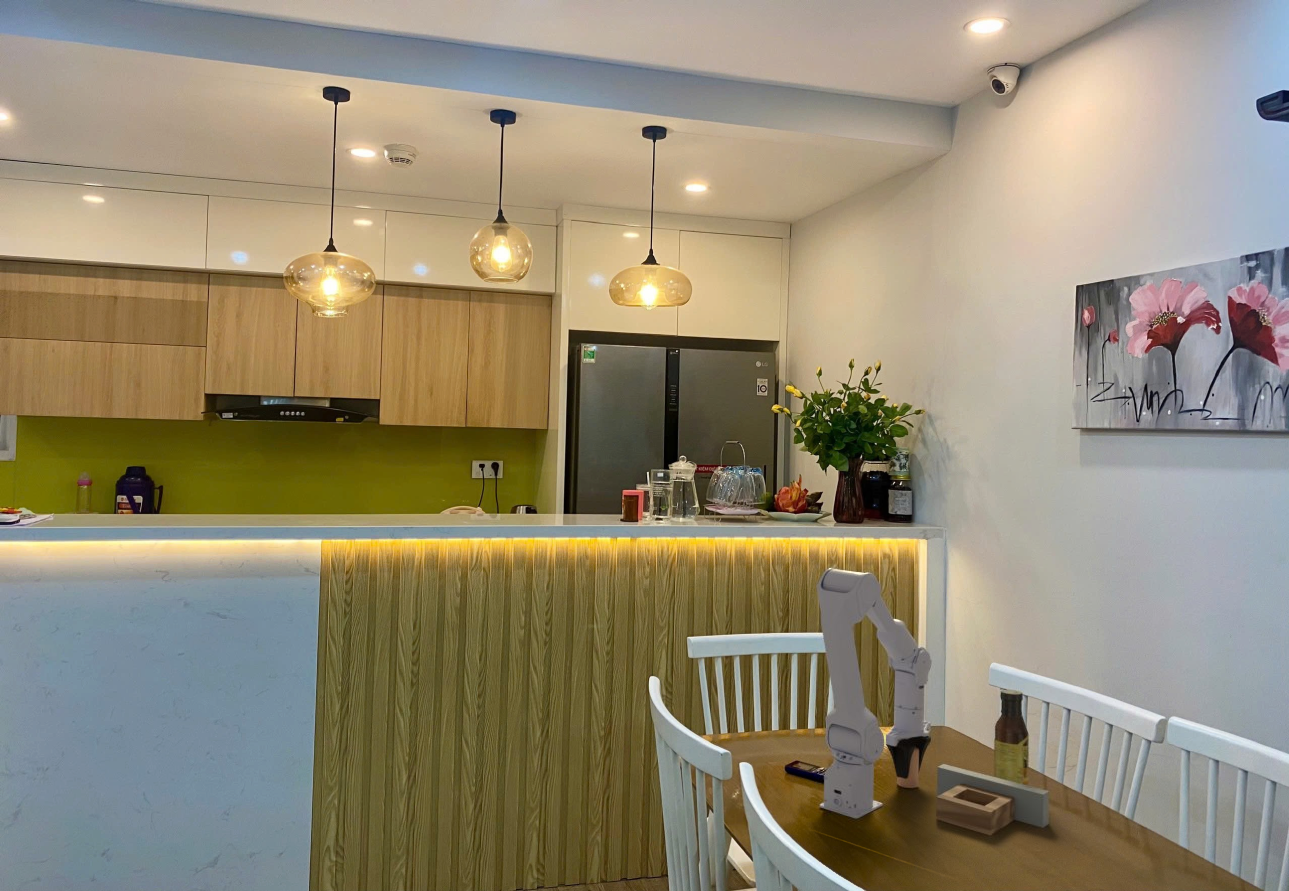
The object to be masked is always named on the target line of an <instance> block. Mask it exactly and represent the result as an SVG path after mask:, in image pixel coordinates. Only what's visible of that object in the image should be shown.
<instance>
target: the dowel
mask: <svg viewBox="0 0 1289 891" xmlns="http://www.w3.org/2000/svg"><path fill="white" fill-rule="evenodd" d="M918 770H919V749H918V748H915V749H914V751H913V754H912V757H911V762H910V770H909V775H908V778H907V779H904V778H900V777H897V776H896V777H897V779H896V780H897V781H896V784H897V785H898V786H899V787H902V788H905V789H915V788H918V787H919V773H918Z"/></svg>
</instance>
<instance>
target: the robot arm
mask: <svg viewBox="0 0 1289 891" xmlns="http://www.w3.org/2000/svg"><path fill="white" fill-rule="evenodd" d="M816 592H817V596H818V604H819V609H820V625H821V631H822V636H823V642H824V643H823V644H824V648H825V654H826V660H827V661H826V662H827V666H828V673H829V679H830V684H831V690H832V696H833V702H834V707H835V708H833V709H831V710H830V712H828V713H827V715H826V717H825V725H826V726H825V733H824V735H825V742H826V743H825V744H826V746H827V747H828V748H829V749H830V753H831V754H830V755H831V756H833V762H832V764H831V765H830V766H828V767H827V769H826V770H825V771H824V776H823V780H824V782H823V802H822V803H820V804H819V808H821V809H823V810H824V809H825V810H827V811H831V812H834V813H837V814H840V815H843V816H847V817H850V818H852V819H859V818H861V817H863V816H865V815H867V814H869V813H871V812H873V811H875V810H877V809H879V808H881V807H883V803H882V802H879V801H878V800H874V779H875V776H874V775H875V773H874V772H875V771H874V770H875V762H878V760H879V758H880V757H881V756H882V754H883V752H884V748H885V745H886V748H887V749H888V750H889V753H890V756H891V758H892V760H893V765H894V771H895V774H896V777H900V778H904V779H907V778H908V775H909V770H910V762H911V757H912V754H913V751H914V749H915V748H918V749H919V770H918V774H919V773H920V770H921V767H922V763H923V759H924V756H925V753H926V750H927V748H928V747H929V745H930V743H931V741H932V737H931V736H929V735H930V733H931V728H932V727H931V723H932V722H930V721H927V720H925V691H926V690H925V688H926V686H925V685H927V683H928V680H929V677H928V676H929V672H930V670H931V668H932V662H933V661H932V659H931V655H930V653H929V651H927V649H926V648H925V647H922V646H919V645H918V643H917V641H916V639H915V638H914V637H913V636H912V634H911V633H910V630H908V628H907V626H906V622H904V621H903V620H899V619H897V618H894V617H893V616H892V614H891V612H890V610H889V608H888V607H887V605H886V603H885V601H884V599H883V598H882V595H881V593H882V584H881V583H880V582H879V581H878V578H877V577H876V575H875V574H873V573H871V572H865V573H864V572H859V571H858V572H857V571H850V570H844V569H839V568H836V567H830V568H827V569H825V571H824V572H823V573H822V575H821V577H820V579H819V581H818V583H817V585H816ZM866 616H867V618H868V619H869V620H870V621H871V622H872V624H873V625H874V626H875V627H876V629H877V630H876V639H877V640H878V641H879V642H880V644H881V645H882V647H883V648H884V649H885V651H886V656H887V657H888V659H887V660H888V666H889V668H890V669H891V670H892V671H894V699H893V702H894V706H893V709H894V710H893V711H894V712H893V726H892V727H891V729H890V730H889V731H888V732H887V733H886V734H885V736H884V733H883V731H882V730H881V728H880V725H879V721H878V720H879V719H878V717H876V716H875V714H874V713H873V712H871V711H870V709H869V708H867V707H866V703H865V696H864V692H863V690H864V689H863V685H862V679H861V672H860V666H859V662H858V654H857V649H856V643H855V635H854V630H853V628H854V625H855V624H858V623H861V622H862V621H863V619H864V618H865V617H866Z"/></svg>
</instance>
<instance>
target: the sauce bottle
mask: <svg viewBox="0 0 1289 891" xmlns="http://www.w3.org/2000/svg"><path fill="white" fill-rule="evenodd" d="M1023 696H1024V695H1023V692H1022V691H1019V690H1015V689H1014V690H1013V689H1001V690H1000V700H1001V703H1000V704H1001V709H1000V713H1001V715H1000V717H999V718H998V720H997V721H996V722H995V725H994V740H993V742H994V743H993V745H994V746H993V749H994V750H993V751H994V754H993V756H994V758H993V761H994V762H993V765H994V766H993V770H994V771H993V774H994V775H993V777H996V778H1000V779H1004V780H1008V781H1012V782H1015V783H1019V784H1023V785H1027V786H1029V765H1030V764H1029V761H1030V760H1029V755H1030V754H1029V750H1030V748H1029V739H1030V738H1029V735H1030V734H1029V732H1028V729H1027V725H1026V723H1025V719H1024V717H1023V711H1022V710H1023V707H1022V705H1023V704H1022V702H1023V699H1024V698H1023Z"/></svg>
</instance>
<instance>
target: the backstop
mask: <svg viewBox="0 0 1289 891" xmlns="http://www.w3.org/2000/svg"><path fill="white" fill-rule="evenodd" d="M936 774H937V779H936V780H937V782H936V783H937V786H936V787H937V790H936V797H937V796H939V795H941V794H943V793H945V792H947V791H949V790H950V789H952V788H954V787H956V786H958V785H960V784H965V785H969V786H973V787H976V788H980V789H984V790H988V791H991V792H995V793H999V794H1002V795H1006V796H1010V797H1014V820H1013V821H1019V822H1022V823H1024V824H1028V825H1031V826H1036V827H1039V828H1042V829H1043V828H1045V827H1047V826H1048V825H1049V816H1050V815H1049V810H1050V809H1049V808H1050V807H1049V806H1050V805H1049V804H1050V798H1049V797H1050V791H1049V790H1045V789H1042V788H1039V787H1035V786H1030V785H1028V786H1027V785H1023V784H1019V783H1015V782H1012V781H1008V780H1004V779H1000V778H996V777H994V776H991V775H987V774H983V773H979V772H975V771H973V770H968V769H964V768H960V767H957V766H952V765H949V764H946V763H942V764H941V765H938V766H937V773H936Z"/></svg>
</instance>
